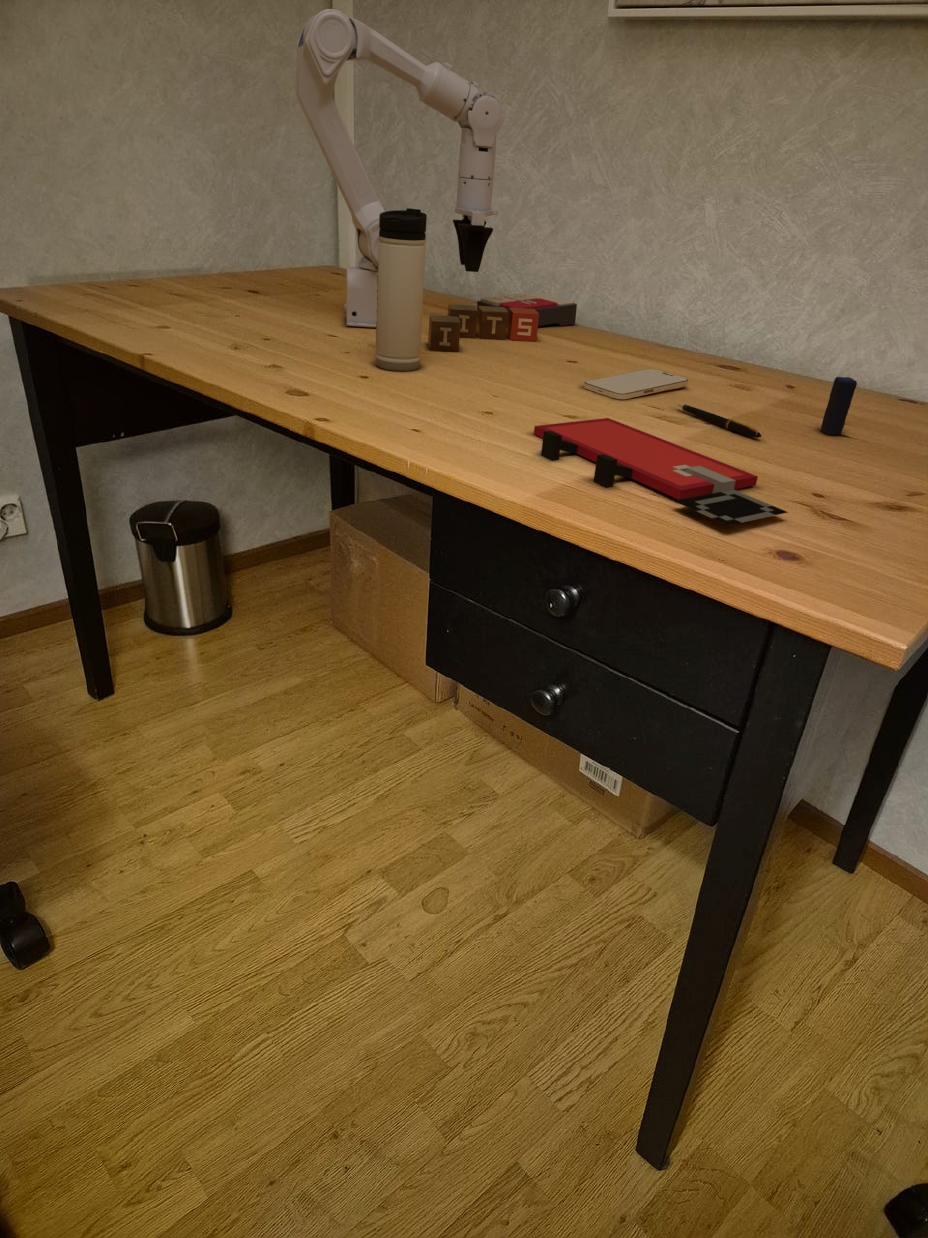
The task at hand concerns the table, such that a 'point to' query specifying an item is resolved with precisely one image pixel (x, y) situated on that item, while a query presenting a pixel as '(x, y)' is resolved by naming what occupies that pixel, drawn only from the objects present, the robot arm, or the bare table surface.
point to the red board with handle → (658, 467)
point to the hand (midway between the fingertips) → (469, 268)
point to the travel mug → (400, 289)
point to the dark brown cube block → (465, 319)
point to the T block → (492, 322)
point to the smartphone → (635, 383)
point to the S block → (522, 324)
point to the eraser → (838, 405)
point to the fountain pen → (723, 421)
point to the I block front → (444, 333)
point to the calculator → (537, 307)
